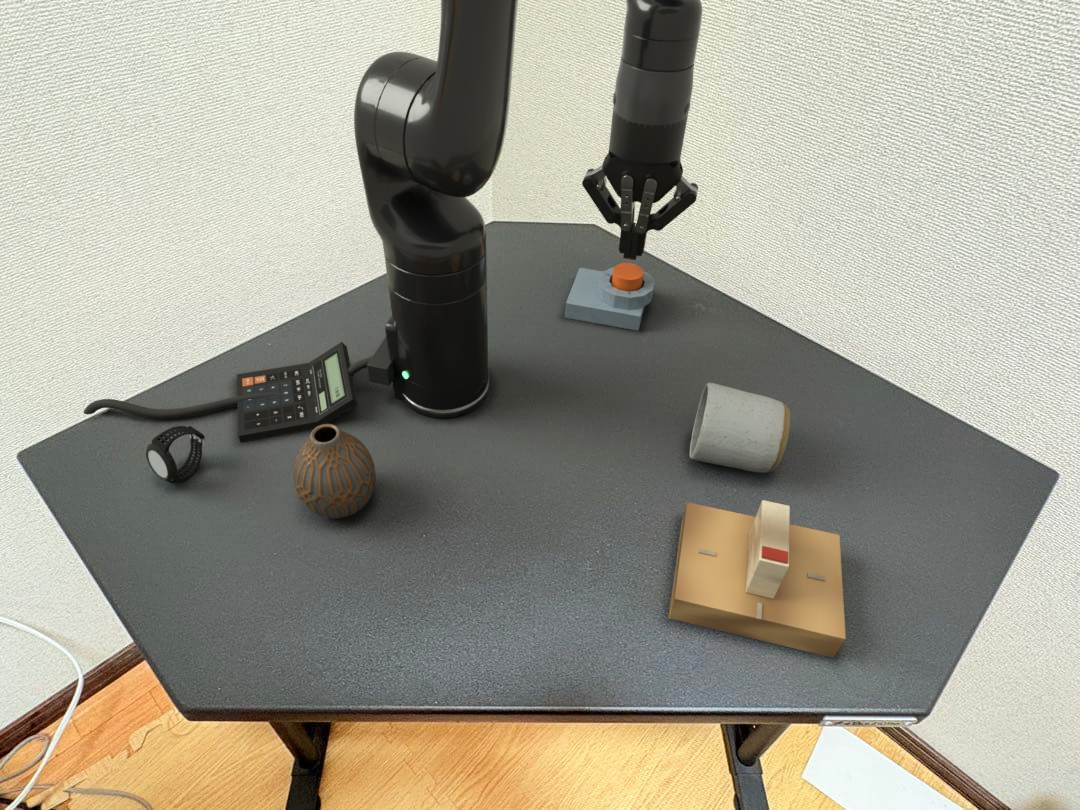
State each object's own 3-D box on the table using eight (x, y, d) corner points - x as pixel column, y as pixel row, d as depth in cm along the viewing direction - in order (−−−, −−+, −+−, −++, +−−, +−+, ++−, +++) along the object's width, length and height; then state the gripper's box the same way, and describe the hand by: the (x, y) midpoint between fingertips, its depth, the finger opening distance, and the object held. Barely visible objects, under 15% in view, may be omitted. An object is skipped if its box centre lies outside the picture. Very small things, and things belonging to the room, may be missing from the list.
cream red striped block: (749, 533, 62) (763, 497, 58) (775, 539, 61) (791, 503, 58) (745, 592, 57) (759, 558, 54) (773, 599, 57) (790, 564, 54)
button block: (564, 317, 88) (566, 290, 85) (578, 281, 93) (580, 254, 91) (644, 332, 86) (649, 304, 83) (653, 294, 92) (658, 267, 89)
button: (609, 289, 86) (610, 276, 85) (614, 273, 88) (616, 260, 87) (639, 294, 85) (641, 281, 84) (643, 277, 88) (645, 265, 87)
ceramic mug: (773, 491, 69) (796, 434, 64) (686, 475, 70) (702, 417, 65) (771, 417, 77) (791, 360, 71) (693, 403, 78) (707, 346, 72)
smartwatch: (153, 470, 68) (134, 433, 65) (209, 449, 70) (194, 412, 67) (164, 500, 66) (145, 463, 62) (222, 476, 68) (207, 439, 64)
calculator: (238, 380, 77) (231, 358, 75) (349, 362, 80) (345, 341, 78) (240, 442, 71) (232, 420, 69) (360, 420, 74) (356, 398, 72)
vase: (295, 483, 67) (275, 416, 61) (369, 463, 70) (357, 396, 64) (309, 540, 63) (289, 474, 57) (387, 517, 65) (376, 450, 59)
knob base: (668, 619, 59) (674, 598, 57) (681, 521, 66) (687, 499, 64) (833, 659, 57) (846, 639, 55) (828, 554, 64) (840, 532, 62)
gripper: (720, 100, 74) (690, 248, 86) (593, 84, 76) (581, 231, 88) (715, 130, 69) (683, 282, 81) (578, 112, 71) (568, 263, 83)
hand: (630, 255), depth 85 cm, fingers closed
